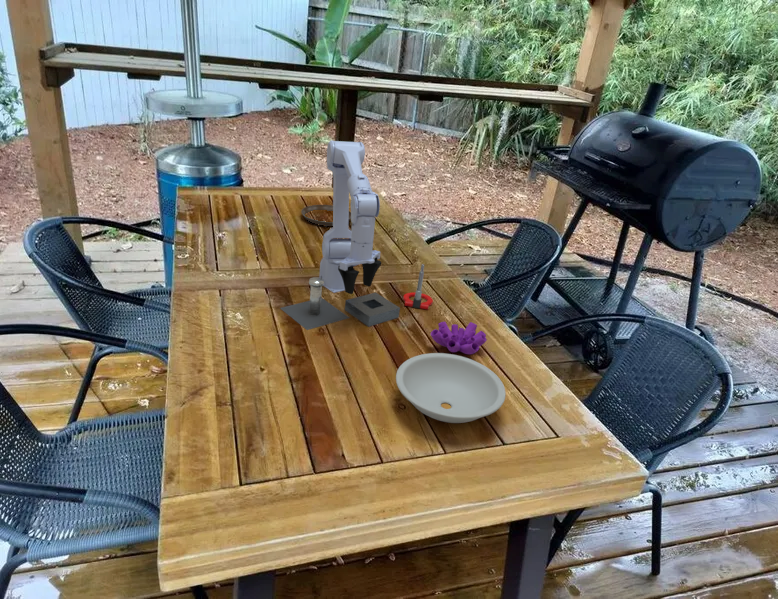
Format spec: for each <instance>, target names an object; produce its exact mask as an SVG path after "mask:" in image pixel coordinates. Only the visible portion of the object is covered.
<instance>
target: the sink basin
mask: <svg viewBox="0 0 778 599" xmlns="http://www.w3.org/2000/svg"><path fill="white" fill-rule="evenodd" d="M395 382H396V386H397V388H398V390H399V391H400V393H401V395H402V396H403V397H404V398H405V399H406V400H407V401H409V402H410V404H412V405H413V406H414V407H415V409H417V410H418V411H419V412H420V413H422V414H423V415H425V416H427V417H429V418H431V419H434V420H437V421H439V422H442V423H443V422H444V423H448V424H449V423H450V424H461V423H462V424H463V423H468V422H473V421H476V420H478V419H480V418H484V417H487V416H490V415H492V414H494V413H495V412H497V411H498V410H499V409H500V408H501V407H502V406H503V404H504V403H505V400H506V397H507V396H506V388H505V385H504V383H503V381H502V379H501V378H500V377H499V376H498V375H497V373H495V372H494V371H493V370H491V369H490V368H489V367H487V366H486V365H484V364H482V363H480V362H478V361H476V360H473V359H471V358H468V357H466V356H462V355H457V354H453V353H452V354H451V353H444V352H431V353H430V352H429V353H422V354H419V355H415V356H412V357H411V358H408V359H407V360H405V361H403V363H402V364H400V366H399V367H398V369H397V371H396V375H395ZM442 404H448V405H450V408H445V407H443V406H442Z"/></svg>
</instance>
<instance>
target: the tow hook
mask: <svg viewBox="0 0 778 599" xmlns="http://www.w3.org/2000/svg"><path fill="white" fill-rule="evenodd" d="M420 266H421V268H420V270H419V273H418V281H417V287H416V290H415V291H413V292H406V293H404V294H403V299H402V300H403V301H404V306H405V307H409V308H412V309H413V308H414V309H419V310H420V309H421V310H429V307H430V306H432V305H433V302H434V299H433V298H432V297H431V296H430V295H428V294H426V293H423V291H422V286H423V281H424V275H425V270H424V269H425V264H424V263H421V265H420ZM410 298H413V300H412V299H410ZM422 299H424V300H426V301H425V302H424V301H423V302H422Z"/></svg>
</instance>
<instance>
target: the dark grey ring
mask: <svg viewBox="0 0 778 599" xmlns="http://www.w3.org/2000/svg"><path fill="white" fill-rule="evenodd" d="M313 210H327V211H333V204H332V205H331V204H314V205H313V204H312V205H309V206H305V207H303V208H302V209H301V215H302V216H303V218H304V219H305V220H306V221H307V220H308V221H307V222H309V221H310V222H312V223H315V224H319V225H325V226H324V227H327V226H333V222H325V221H318V220H314V219H311V218H308V217H306V216H305V214H306V213H308V212H310V211H313ZM349 221H351V210H349ZM310 222H309V223H310ZM312 223H311V224H312ZM315 224H314V225H315ZM319 225H318V226H319Z"/></svg>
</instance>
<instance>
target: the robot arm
mask: <svg viewBox="0 0 778 599" xmlns="http://www.w3.org/2000/svg"><path fill="white" fill-rule="evenodd" d="M365 149H366V148H365V144H364V142H362V141H343V140H342V141H341V140H340V141H339V140H332V139H331V140H329V141H328V143H327V147H326V166H327V168H326V169H327V170H329V171H331V172H332V176H333V187H332V188H333V191H332V192H333V196H332V206H333V227H330V229H329V230H327V231H325V233H324V234H323V237H322V244H321V249H322V250H321V251H322V254H321V255H322V258H321V260H320V262H319V263H320V264H319V276H318V278H322V279H323V280H324V285H323V286H322V287H324V288H325V289H327V290H329V291H330V292H332V293H334V294H335V293H339V292H344V291H345V293H347V294H349V295H353V294H354V292H355V286H356V281H357V278H358V275H359V273H360V271H359V270H357V269H355V267H357V266H359V265H361V266H362V282H363V285H364V286H366V287H369V288H370V287H372V284H373V281H374V278H375V276H376V273H377V271H378V270H379V269H380V267H381V266H382V261H380V259H381V251H379V250H375V249H374V250H373V246H374V239H375V238H374V236H375V227H376V226H375V224H376V218H377V217H379V215H380V214H379V213H380V208H381V207H380V205H381V204H380V203H381V202H380V201H381V200H380V197H379V194H378V193H376V192H375V191H373V190H372V186H371V183H370V179H369V178H368V176H367V175H366V174H364V173H363V169H362V165H363V163H364V161H365V158H366V157H365V156H366V150H365ZM349 211H350V212H351V219H350V220H349ZM349 221H351V227H352V231H351V229H350V228H349Z"/></svg>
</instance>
